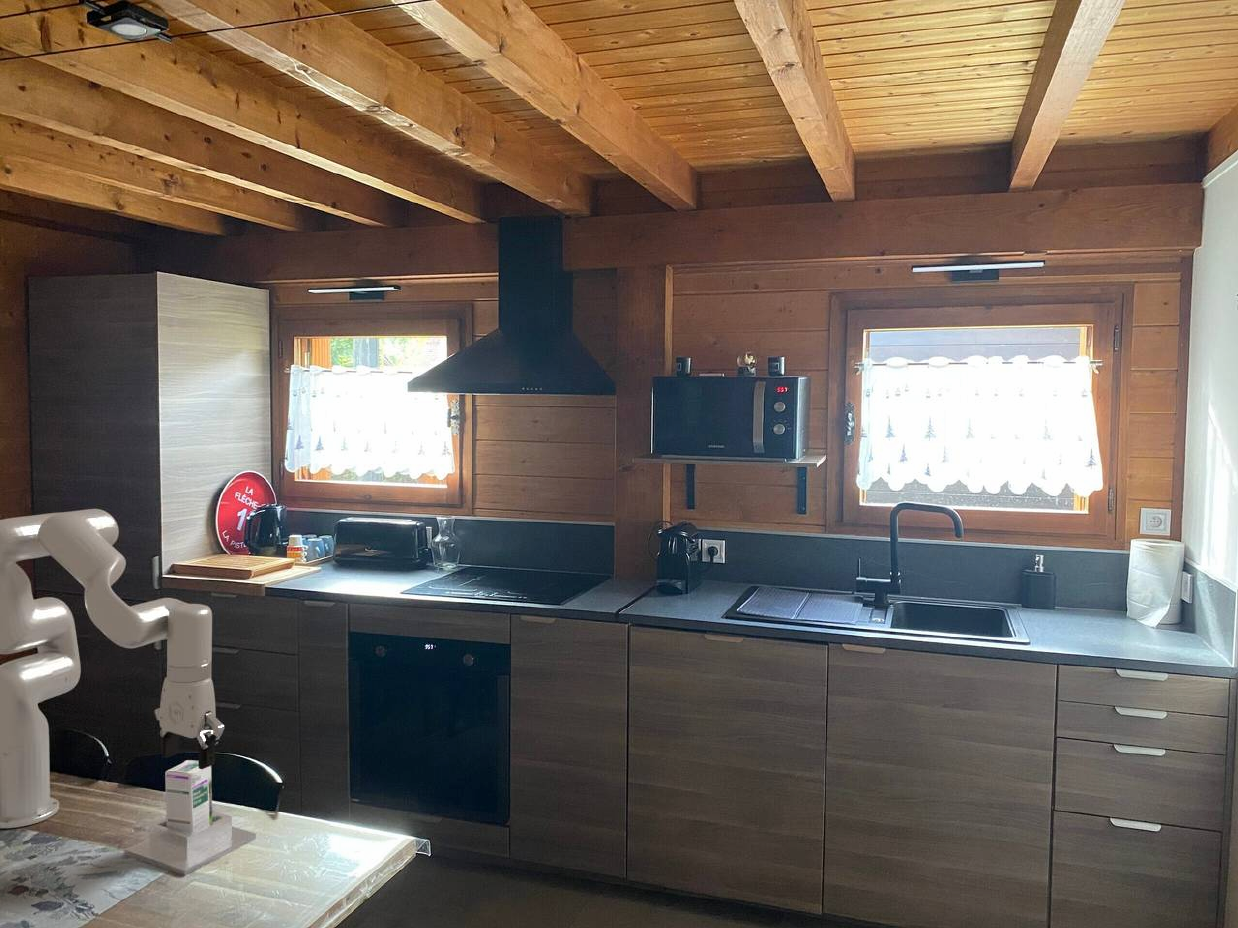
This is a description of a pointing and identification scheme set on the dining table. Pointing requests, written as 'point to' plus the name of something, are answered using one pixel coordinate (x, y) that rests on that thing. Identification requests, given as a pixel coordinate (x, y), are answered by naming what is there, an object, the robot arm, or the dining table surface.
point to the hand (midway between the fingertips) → (188, 760)
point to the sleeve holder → (189, 845)
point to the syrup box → (188, 797)
